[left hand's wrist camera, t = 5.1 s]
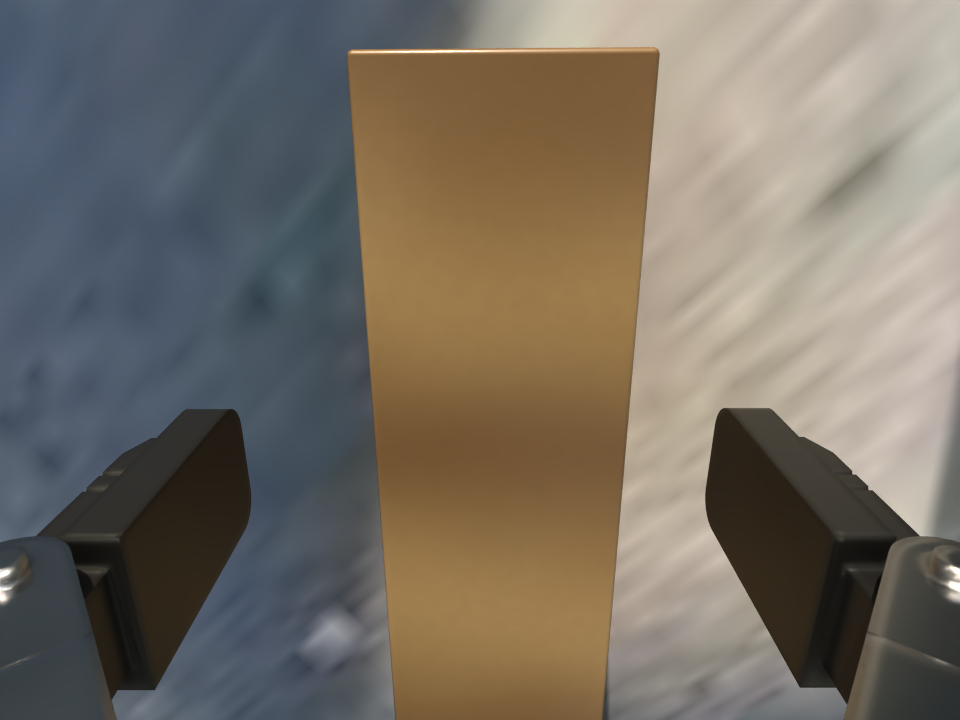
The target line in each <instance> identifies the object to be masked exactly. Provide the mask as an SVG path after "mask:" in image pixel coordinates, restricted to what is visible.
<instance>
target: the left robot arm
mask: <svg viewBox="0 0 960 720" xmlns="http://www.w3.org/2000/svg"><path fill="white" fill-rule="evenodd" d="M705 503H706V512H707V517H708V521H709V524H710V527H711V529H712V531H713V532H714V534H715V536H716V538H717V540H718V541H719V543H720V545H721V547H722V549H723V550H724V552H725V554H726V556H727V558H728V559H729V561H730V563H731V565H732V567H733V568H734V570H735V572H736V574H737V575H738V577H739V579H740V581H741V583H742V584H743V586H744V588H745V590H746V592H747V593H748V595H749V597H750V599H751V601H752V602H753V604H754V606H755V608H756V610H757V611H758V613H759V615H760V617H761V619H762V620H763V622H764V624H765V626H766V628H767V629H768V631H769V633H770V635H771V636H772V638H773V640H774V642H775V644H776V645H777V647H778V649H779V651H780V653H781V654H782V656H783V658H784V660H785V662H786V663H787V665H788V667H789V669H790V671H791V672H792V674H793V676H794V678H795V680H796V681H797V683H798V685H799V687H800V688H837V689H838V691H839V692H840V694H841V696H842V697H843V699H844V700H845V702H846V704H847V708H846V711H845V715H844V719H843V720H960V543H959V542H956V541H952V540H947V539H942V538H936V537H925V536H919V535H918V534H917V533H916V532H915V531H914V530H913V529H912V528H911V527H910V526H909V525H908V524H907V523H906V522H905V521H904V520H903V519H902V518H901V517H900V516H899V515H897V514H896V513H895V512H894V511H893V510H892V509H891V508H890V507H889V506H888V505H887V504H886V503H885V502H884V501H883V500H882V499H881V498H880V497H879V496H878V495H877V494H876V493H875V492H874V491H873V490H868V486H867V485H866V484H865V483H864V482H863V481H862V480H861V479H860V478H859V477H858V476H857V475H853V474H852V470H851V469H850V468H849V467H848V466H846V465H845V464H844V463H843V462H842V461H841V460H840V459H839V458H838V457H837V456H836V455H835V454H834V453H833V452H831V451H829V450H827V449H825V448H824V447H822V446H820V445H818V444H816V443H814V442H812V441H811V440H809V439H807V438H805V437H799V436H798V435H797V434H796V433H795V432H794V431H793V430H792V429H791V428H790V427H789V426H788V425H787V424H786V423H785V422H784V421H783V420H782V419H781V418H780V417H779V416H778V415H777V414H776V413H775V412H774V411H773V410H772V409H769V408H723V409H722V410H721V411H720V412H719V413H718V416H717V419H716V423H715V429H714V436H713V443H712V450H711V457H710V464H709V471H708V478H707V485H706V494H705ZM250 510H251V489H250V482H249V475H248V469H247V462H246V455H245V448H244V441H243V434H242V427H241V422H240V418H239V416H238V414H237V412H236V411H235V410H233V409H187V410H184V411H183V412H182V413H181V414H180V415H179V416H178V417H177V418H176V419H175V420H174V421H173V422H172V423H171V424H170V425H169V426H168V427H167V428H166V429H165V430H164V431H163V432H162V433H161V434H160V435H159V436H158V437H157V438H151V439H149V440H147V441H145V442H144V443H142V444H140V445H138V446H136V447H134V448H132V449H131V450H129V451H127V452H125V453H123V454H122V455H121V456H120V457H119V458H118V459H117V460H115V461H114V462H113V463H112V464H111V465H110V466H109V467H108V468H107V469H106V470H105V471H104V472H103V476H99V477H98V478H97V479H95V480H94V481H93V482H92V483H91V484H90V485H89V486H88V487H87V491H86V492H82V493H81V494H80V495H79V496H78V497H77V498H76V499H74V500H73V501H72V502H71V503H70V504H69V505H68V506H67V507H66V508H65V509H64V510H63V511H62V512H61V513H60V514H59V515H58V516H57V517H56V518H55V519H53V520H52V521H51V522H50V523H49V524H48V525H47V526H46V527H45V528H44V529H43V530H42V531H41V532H40V533H39V534H38V535H37V536H35V537H24V538H18V539H13V540H8V541H4V542H1V543H0V720H117V719H116V715H115V711H114V708H113V704H112V698H113V697H114V695H115V694H116V692H117V690H155V689H156V687H157V685H158V683H159V682H160V680H161V678H162V676H163V674H164V673H165V671H166V669H167V667H168V666H169V664H170V662H171V660H172V658H173V657H174V655H175V653H176V651H177V650H178V648H179V646H180V644H181V643H182V641H183V639H184V637H185V635H186V634H187V632H188V630H189V628H190V627H191V625H192V623H193V621H194V620H195V618H196V616H197V614H198V612H199V611H200V609H201V607H202V605H203V604H204V602H205V600H206V598H207V596H208V595H209V593H210V591H211V589H212V588H213V586H214V584H215V582H216V581H217V579H218V577H219V575H220V573H221V572H222V570H223V568H224V566H225V565H226V563H227V561H228V559H229V557H230V556H231V554H232V552H233V550H234V549H235V547H236V545H237V543H238V542H239V540H240V538H241V536H242V534H243V533H244V531H245V529H246V526H247V524H248V520H249V516H250Z"/></svg>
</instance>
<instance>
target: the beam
mask: <svg viewBox="0 0 960 720" xmlns="http://www.w3.org/2000/svg"><path fill="white" fill-rule="evenodd" d="M659 56H660V53H659V50H658V49H657V48H655V47H620V48H492V49H363V50H350V51H348V54H347V67H348V80H349V94H350V107H351V121H352V135H353V148H354V162H355V176H356V189H357V203H358V217H359V230H360V244H361V257H362V271H363V285H364V298H365V312H366V326H367V339H368V353H369V366H370V380H371V394H372V407H373V421H374V435H375V448H376V462H377V476H378V489H379V503H380V516H381V530H382V544H383V557H384V571H385V585H386V598H387V612H388V626H389V639H390V653H391V666H392V680H393V694H394V707H395V720H603V709H604V697H605V686H606V674H607V662H608V651H609V639H610V627H611V616H612V604H613V592H614V581H615V569H616V557H617V546H618V534H619V522H620V511H621V499H622V487H623V476H624V464H625V452H626V441H627V429H628V417H629V406H630V394H631V382H632V371H633V359H634V347H635V336H636V324H637V312H638V301H639V289H640V277H641V266H642V254H643V242H644V231H645V219H646V207H647V196H648V184H649V172H650V161H651V149H652V137H653V126H654V114H655V102H656V91H657V79H658V67H659Z"/></svg>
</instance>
